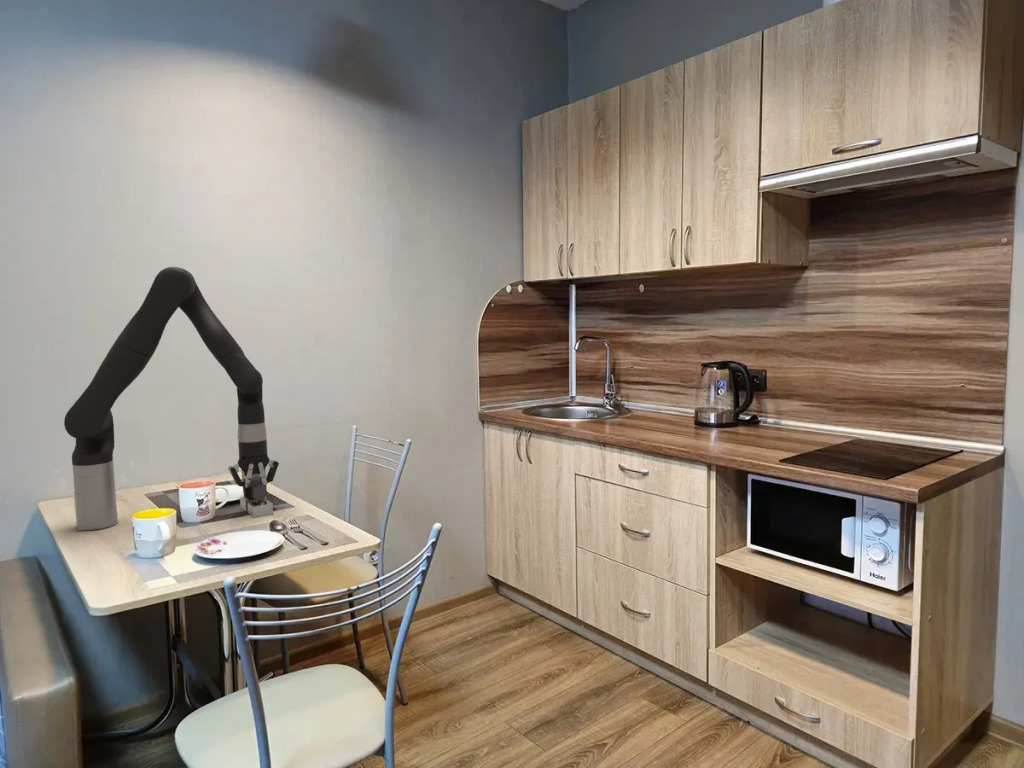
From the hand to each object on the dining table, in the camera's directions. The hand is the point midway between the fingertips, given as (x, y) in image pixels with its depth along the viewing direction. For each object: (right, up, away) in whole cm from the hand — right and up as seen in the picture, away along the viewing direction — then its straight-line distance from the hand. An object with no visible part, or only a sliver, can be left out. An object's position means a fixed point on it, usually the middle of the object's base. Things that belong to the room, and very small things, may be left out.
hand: (255, 498), depth 191 cm
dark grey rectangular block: (0, -3, 0) cm, 3 cm away
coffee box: (-5, -3, +13) cm, 15 cm away
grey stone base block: (0, -4, 0) cm, 4 cm away
